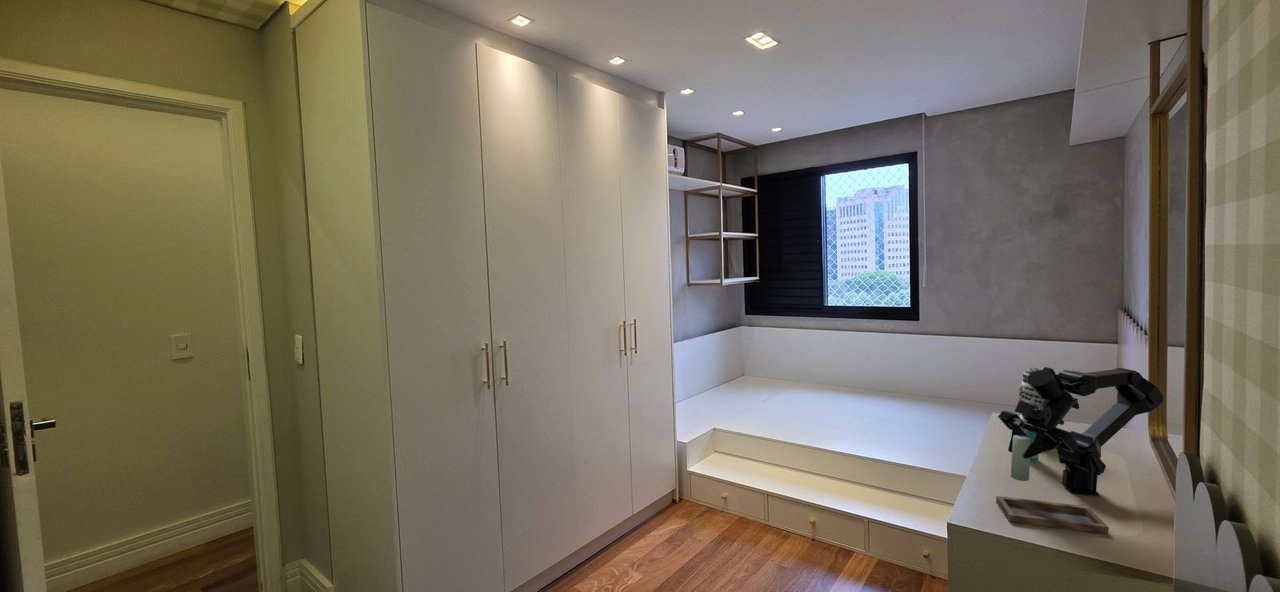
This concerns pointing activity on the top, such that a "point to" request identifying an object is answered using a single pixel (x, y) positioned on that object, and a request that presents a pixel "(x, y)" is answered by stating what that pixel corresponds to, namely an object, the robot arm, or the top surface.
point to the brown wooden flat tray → (1051, 515)
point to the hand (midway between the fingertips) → (1016, 454)
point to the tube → (1032, 435)
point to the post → (1020, 458)
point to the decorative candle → (1028, 389)
